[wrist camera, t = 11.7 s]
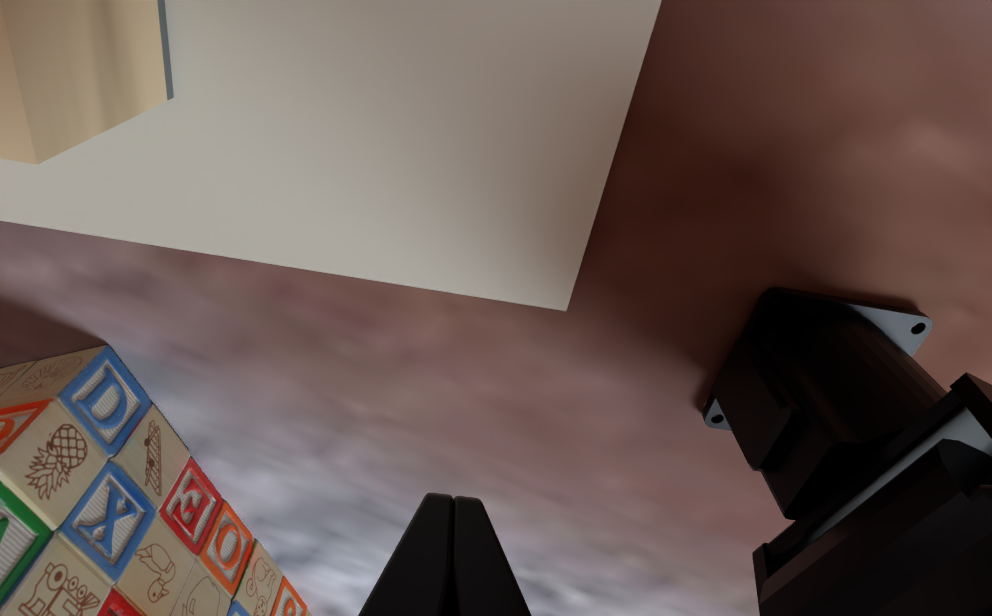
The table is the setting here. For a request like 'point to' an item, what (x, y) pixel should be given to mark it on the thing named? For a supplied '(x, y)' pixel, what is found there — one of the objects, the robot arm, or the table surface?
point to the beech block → (77, 71)
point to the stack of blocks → (115, 505)
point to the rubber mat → (367, 141)
